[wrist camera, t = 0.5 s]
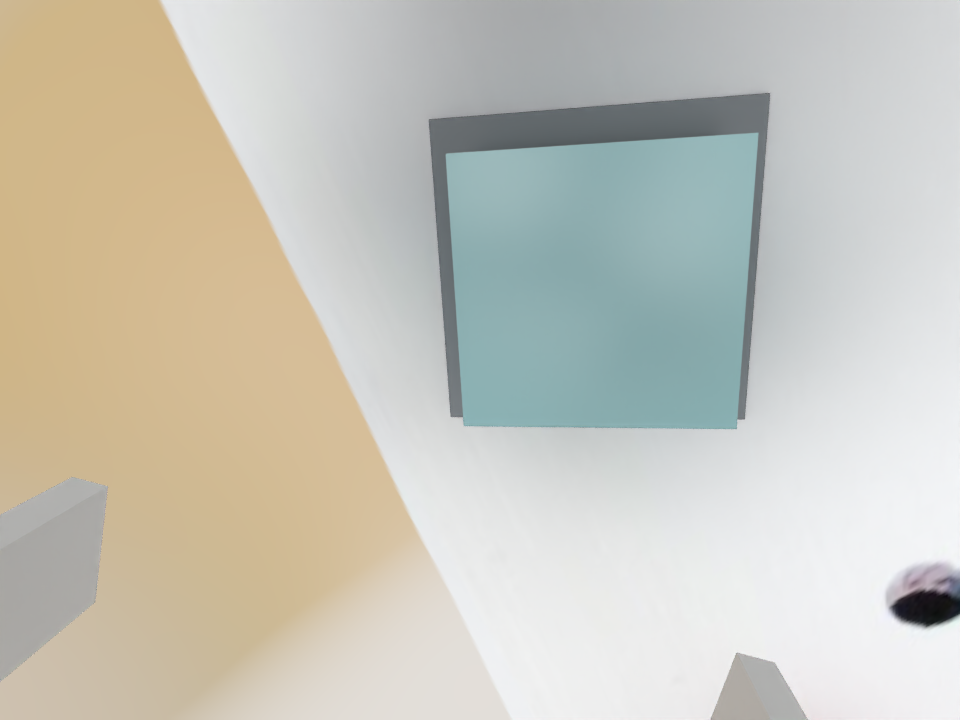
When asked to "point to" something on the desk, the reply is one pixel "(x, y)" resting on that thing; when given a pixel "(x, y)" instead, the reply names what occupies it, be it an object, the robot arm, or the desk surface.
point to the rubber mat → (591, 129)
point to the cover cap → (603, 282)
